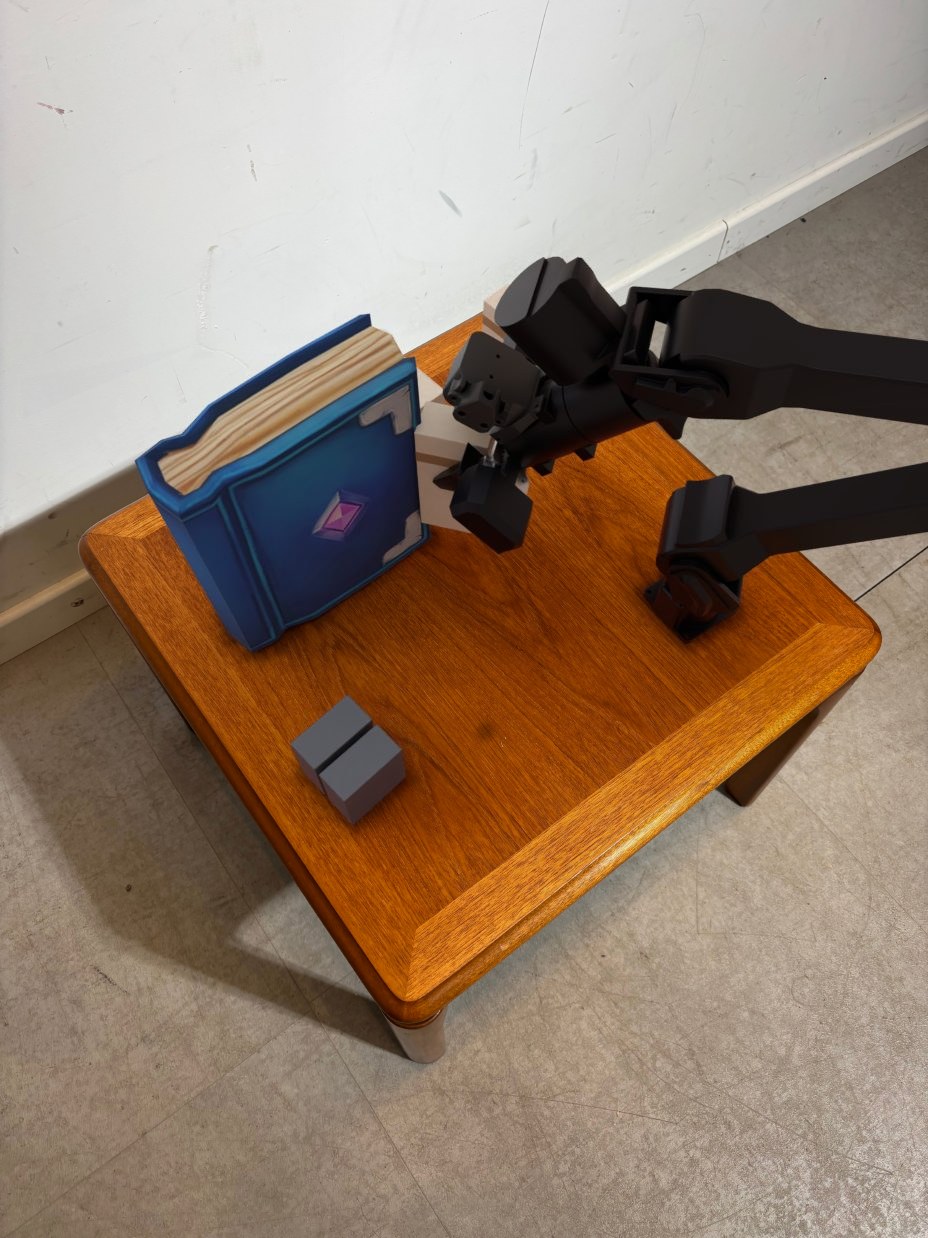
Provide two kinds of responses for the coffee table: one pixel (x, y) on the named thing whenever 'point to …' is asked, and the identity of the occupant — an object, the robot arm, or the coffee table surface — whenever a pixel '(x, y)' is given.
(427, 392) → the cream lidded boxes
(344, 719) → the grey blocks
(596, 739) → the coffee table surface
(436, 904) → the coffee table surface
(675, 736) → the coffee table surface
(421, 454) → the white lidded box
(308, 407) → the book
